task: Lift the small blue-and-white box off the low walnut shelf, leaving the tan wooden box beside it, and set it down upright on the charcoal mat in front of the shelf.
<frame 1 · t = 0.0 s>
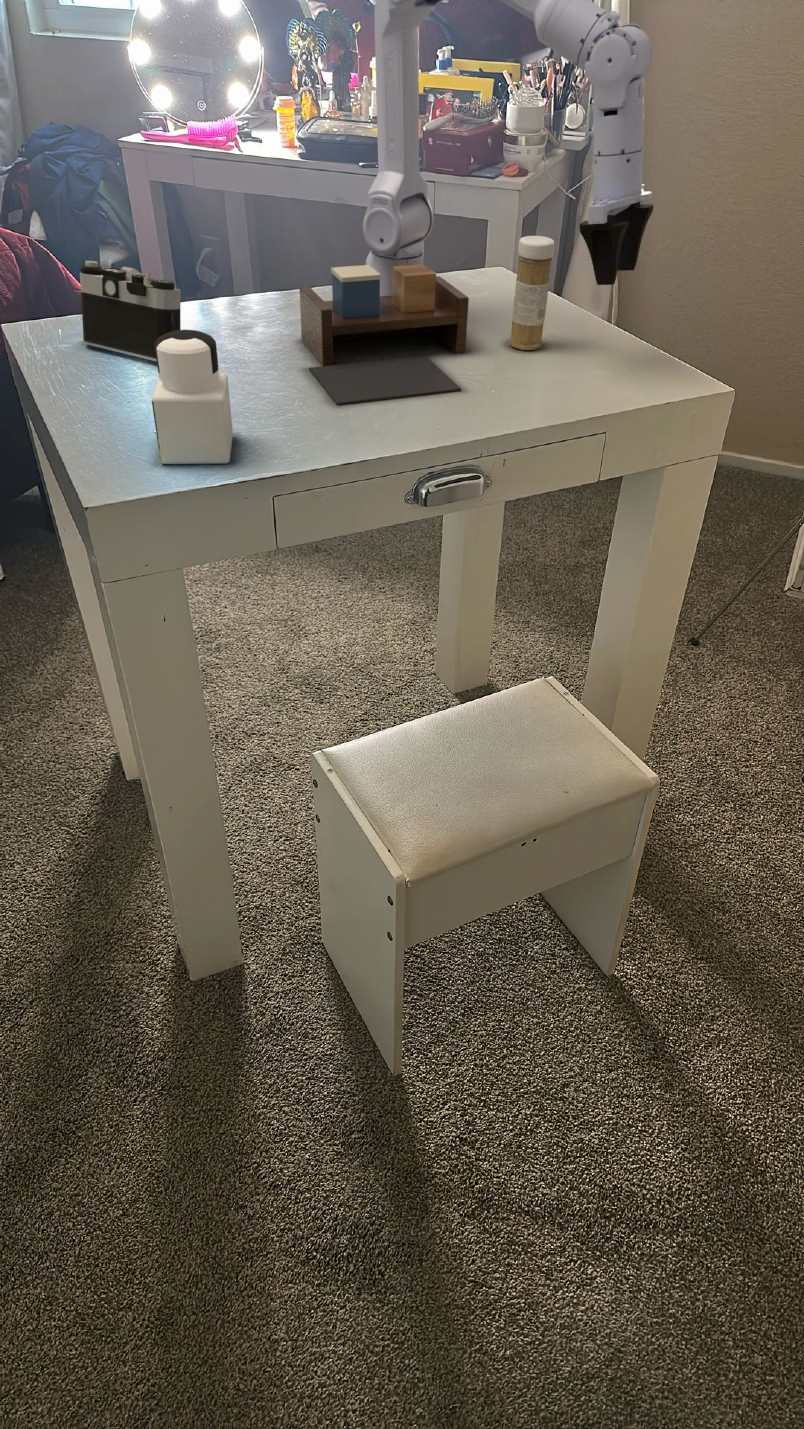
hand: (616, 277, 117), 11 cm above the table, tool pointing down, fingers open, 7 cm apart
medicine bottle: (198, 452, 100), on the table
mat: (383, 380, 117), on the table
camera: (148, 347, 124), on the table
tan box: (413, 306, 124), point 5 cm above the table, touching shelf
blue box: (355, 312, 121), point 5 cm above the table, touching shelf
sprinkles bottle: (525, 347, 128), on the table
shelf: (382, 346, 126), on the table
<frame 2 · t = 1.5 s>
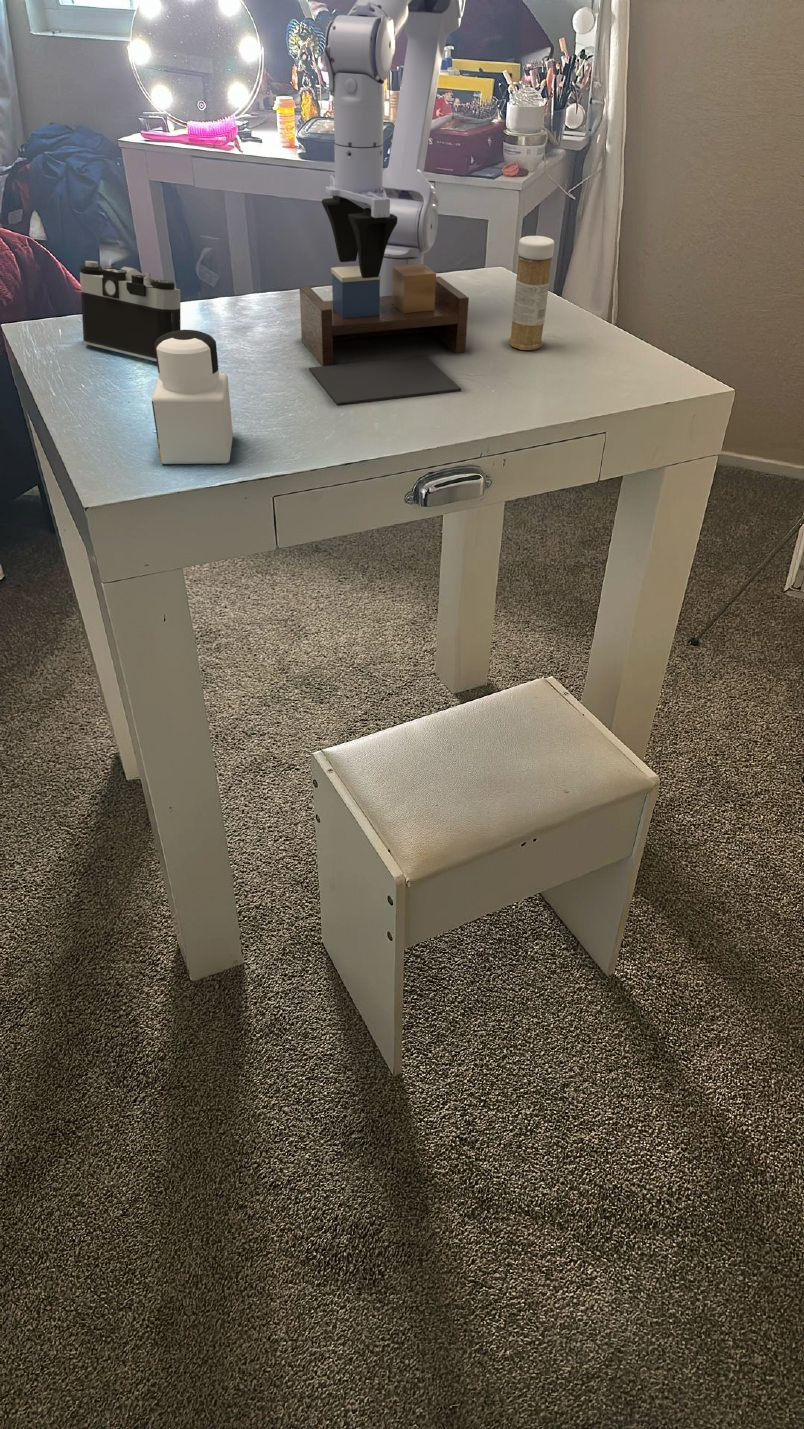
hand: (358, 268, 117), 10 cm above the table, tool pointing down, fingers open, 7 cm apart
nothing on the table moved.
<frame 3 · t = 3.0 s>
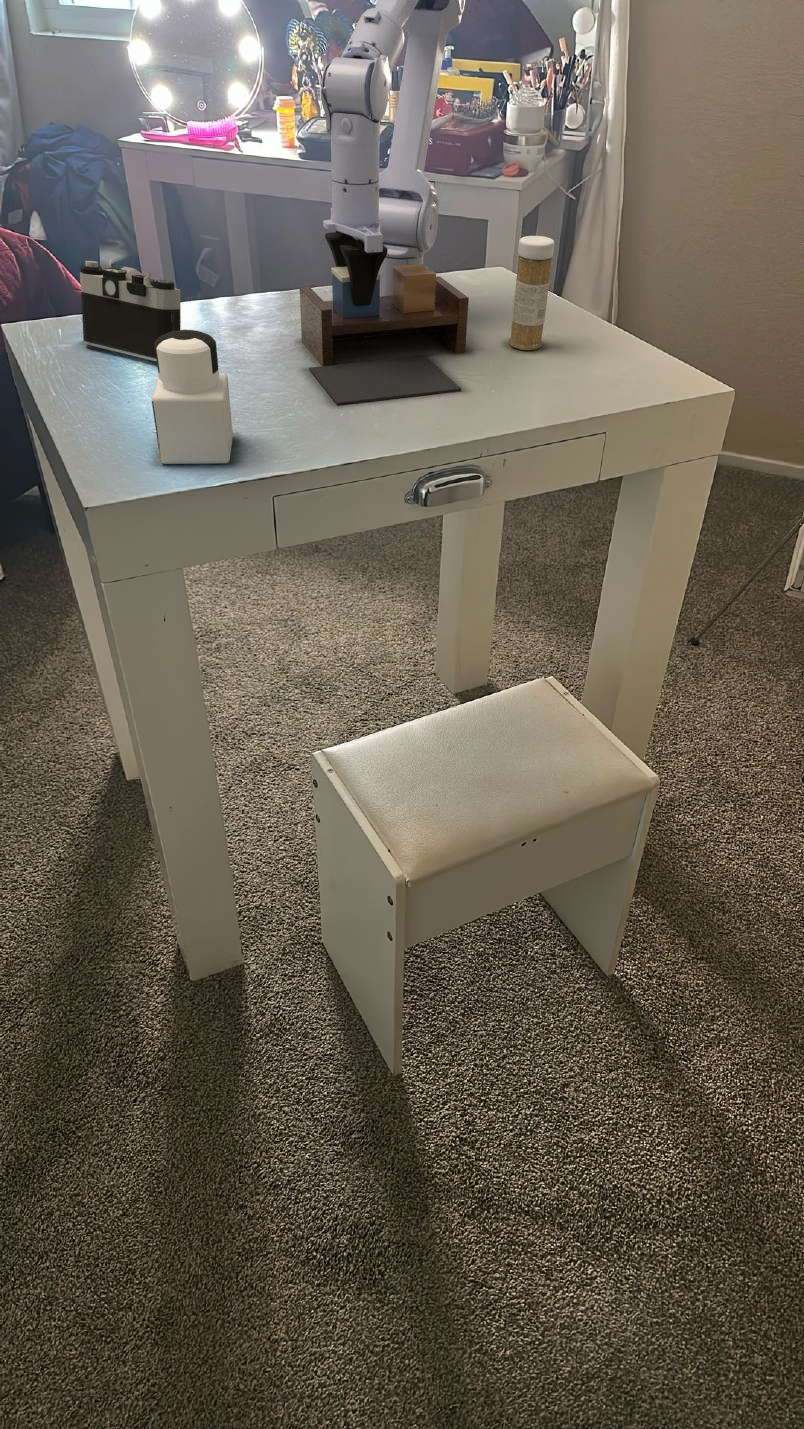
hand: (355, 299, 120), 7 cm above the table, tool pointing down, fingers closed on blue box, 4 cm apart
blue box: (356, 312, 121), point 5 cm above the table, touching gripper, shelf
everything else where it was.
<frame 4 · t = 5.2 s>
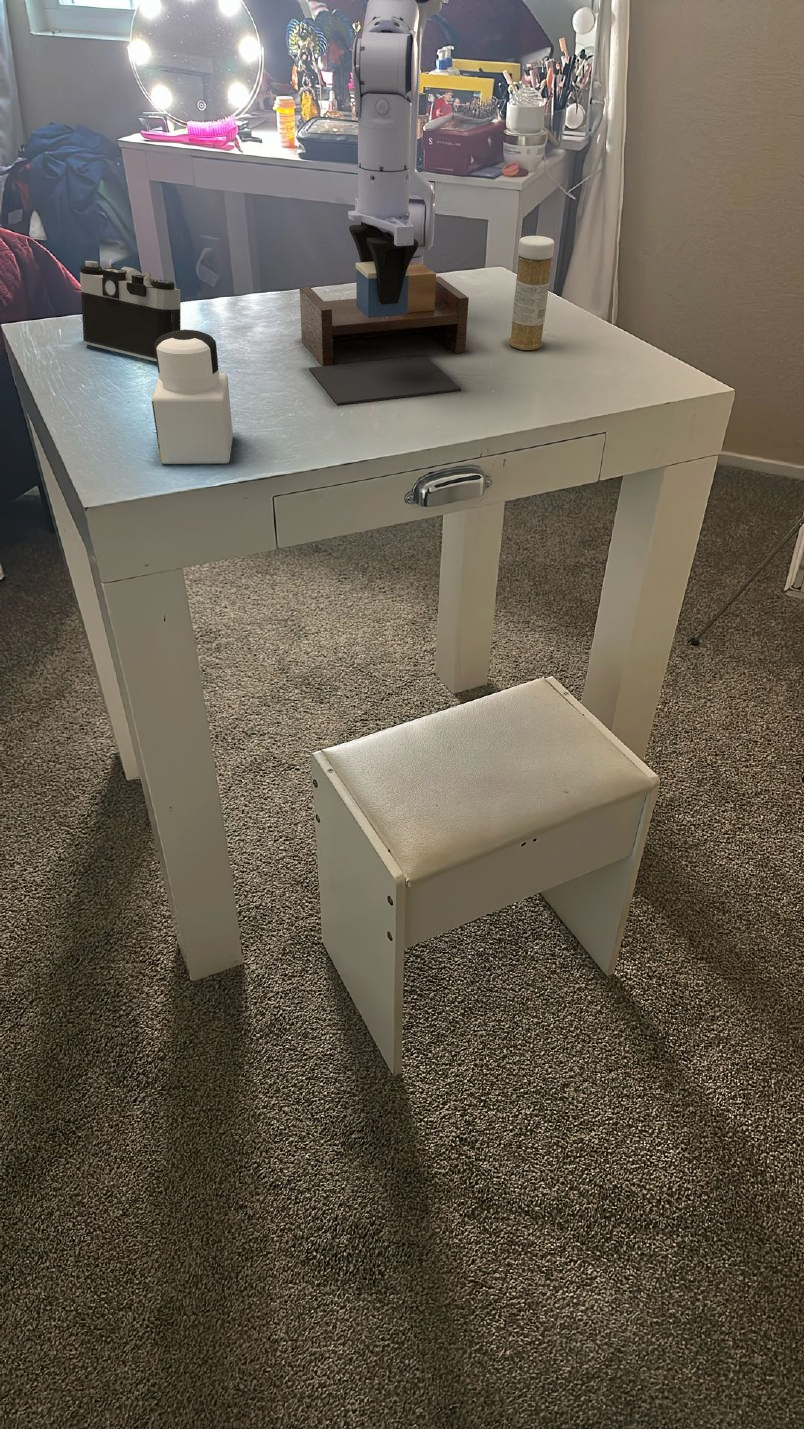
hand: (382, 296, 111), 10 cm above the table, tool pointing down, fingers closed on blue box, 4 cm apart
blue box: (381, 310, 112), point 8 cm above the table, touching gripper
everything else where it was.
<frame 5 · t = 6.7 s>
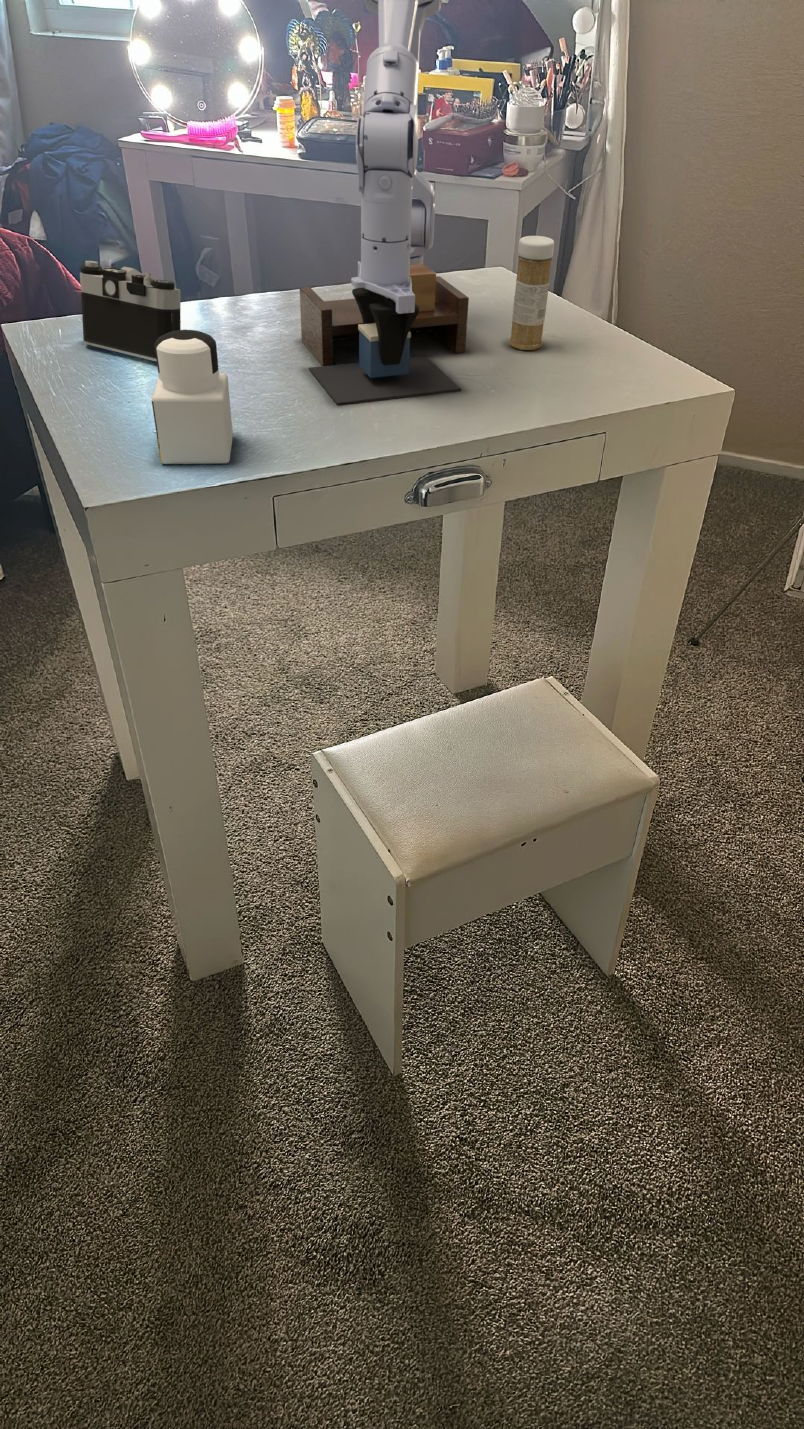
hand: (384, 356, 115), 3 cm above the table, tool pointing down, fingers closed on blue box, 4 cm apart
blue box: (383, 369, 116), point 1 cm above the table, touching gripper
everything else where it was.
when the fingers open (2 cm above the table, at t = 7.5 s): blue box stays where it is, resting on mat.
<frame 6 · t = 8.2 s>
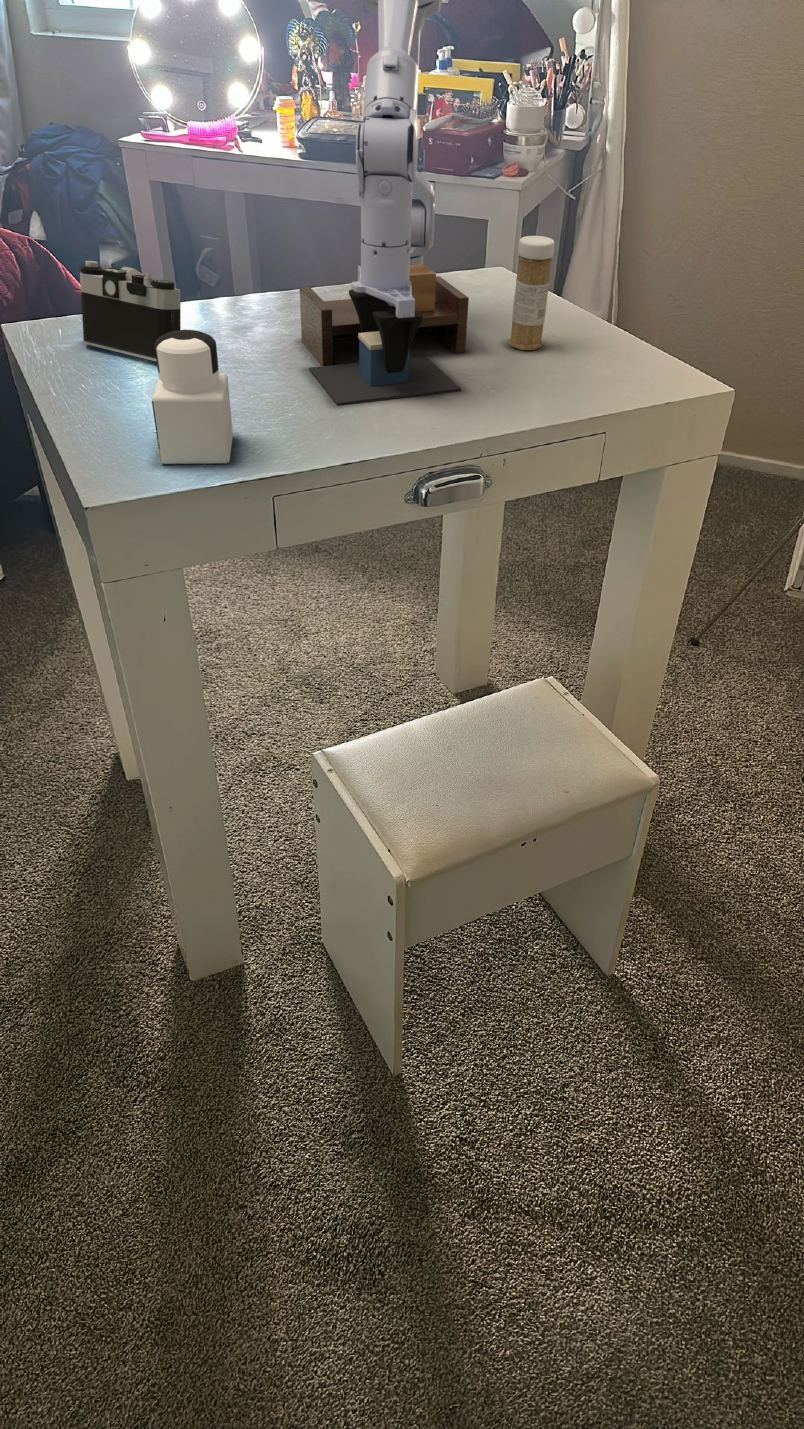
hand: (384, 360, 115), 2 cm above the table, tool pointing down, fingers open, 7 cm apart
blue box: (383, 378, 117), resting on mat
everything else where it was.
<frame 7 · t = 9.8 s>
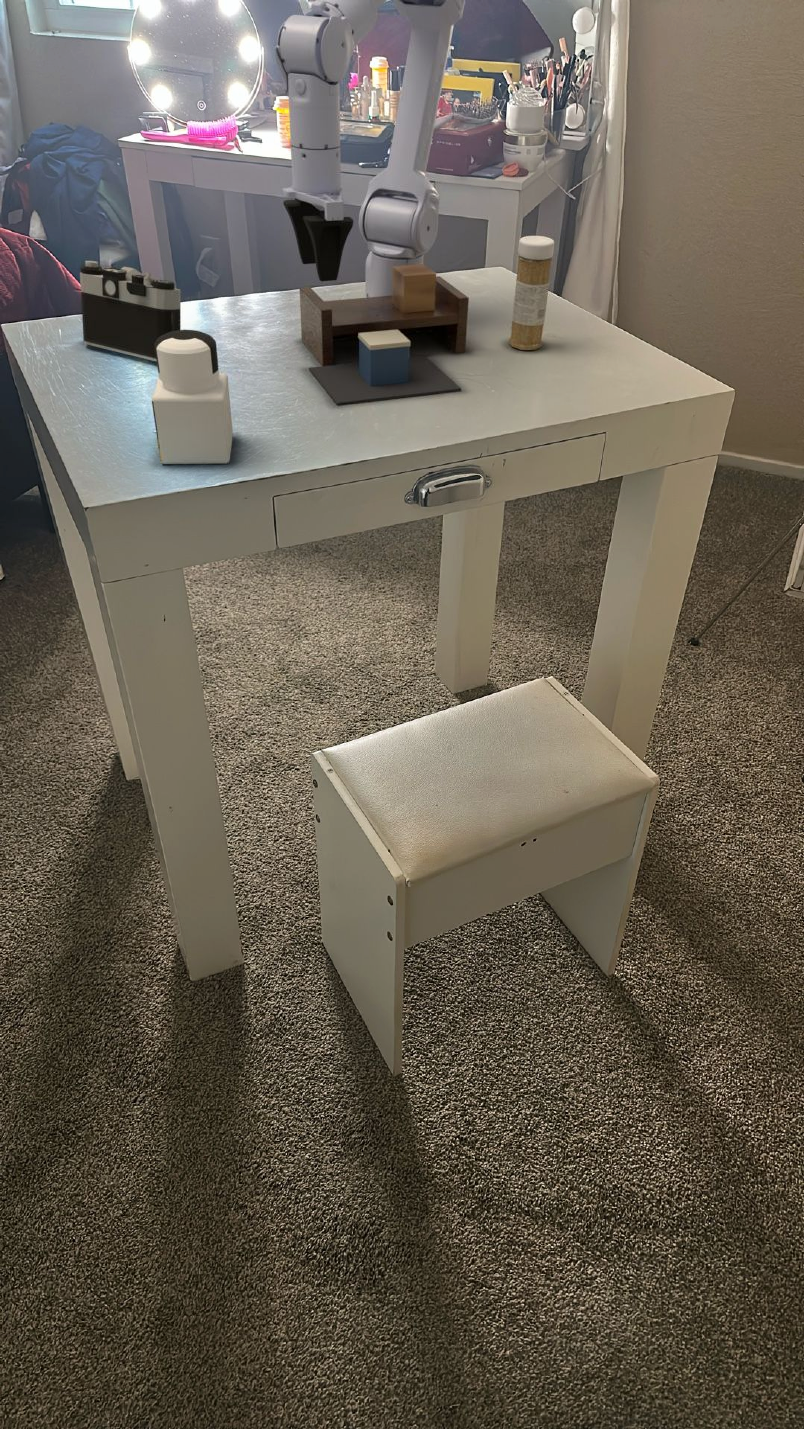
hand: (319, 271, 116), 10 cm above the table, tool pointing down, fingers open, 7 cm apart
nothing on the table moved.
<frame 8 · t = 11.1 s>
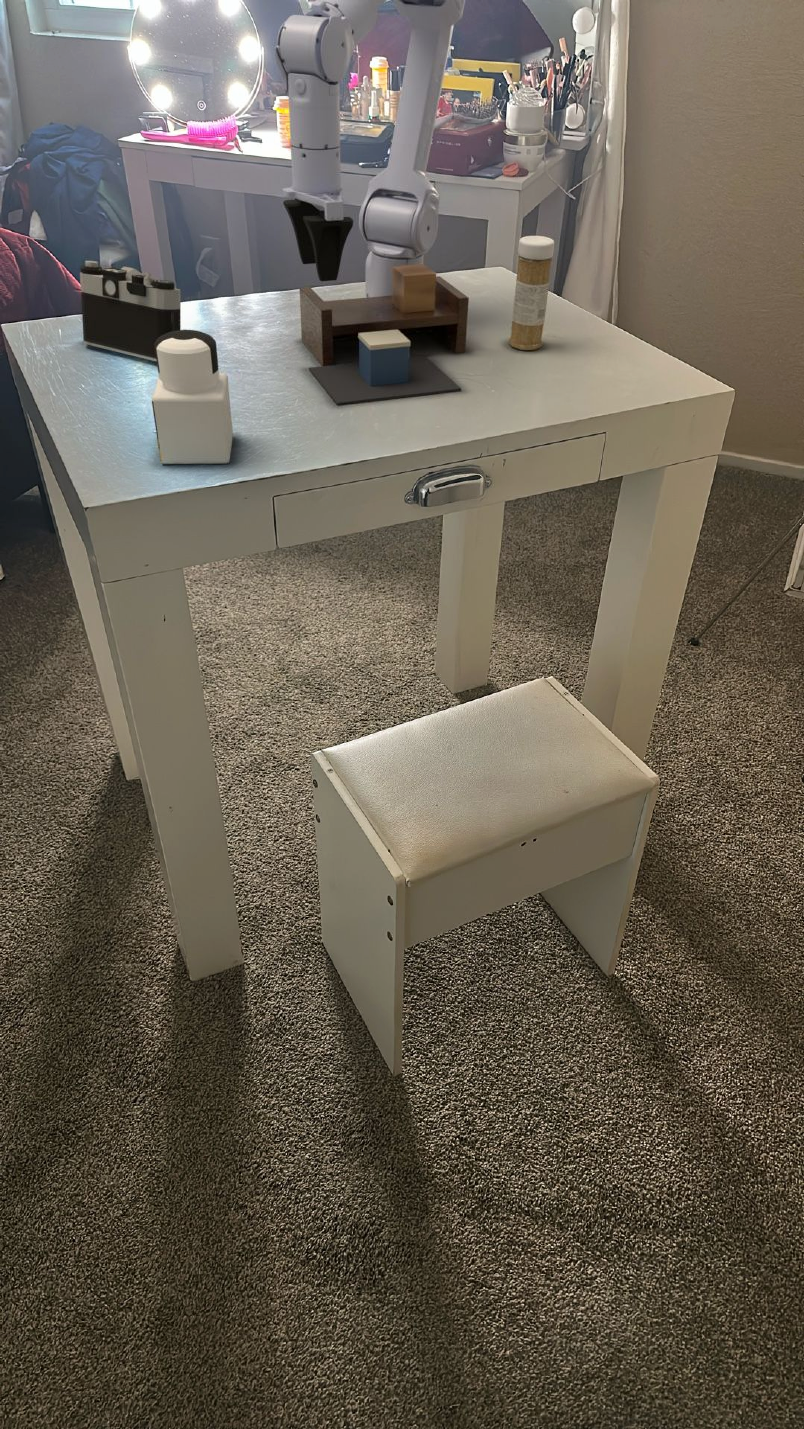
hand: (319, 271, 116), 10 cm above the table, tool pointing down, fingers open, 7 cm apart
nothing on the table moved.
at the end: blue box inside the target area on the mat (0.0 cm from its centre), point 0.3 cm above the mat's base; blue box tilted 0°; tan box moved 0.0 cm from its start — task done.
